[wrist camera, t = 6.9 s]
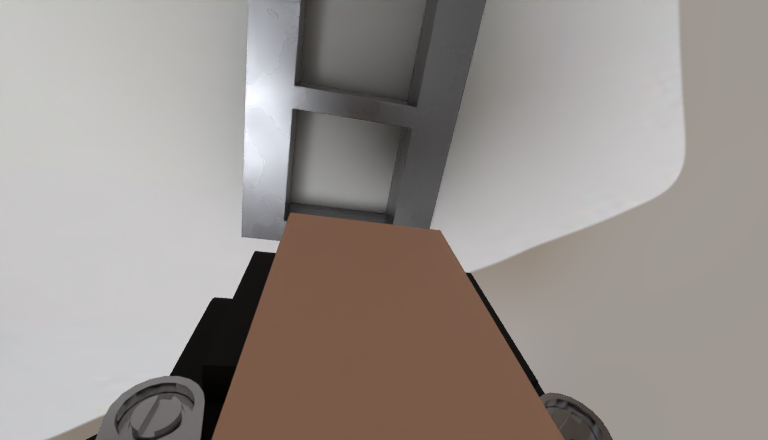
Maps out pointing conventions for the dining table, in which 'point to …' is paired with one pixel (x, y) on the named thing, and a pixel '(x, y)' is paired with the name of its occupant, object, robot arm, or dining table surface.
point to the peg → (375, 345)
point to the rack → (350, 114)
